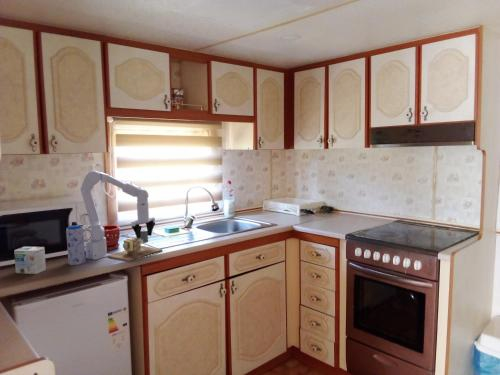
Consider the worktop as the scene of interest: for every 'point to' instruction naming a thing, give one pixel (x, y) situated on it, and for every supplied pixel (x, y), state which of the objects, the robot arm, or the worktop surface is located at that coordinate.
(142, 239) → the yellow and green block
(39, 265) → the light bulb box
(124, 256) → the bearing stand
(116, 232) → the plant pot
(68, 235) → the patterned water bottle
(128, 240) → the brass spacer
